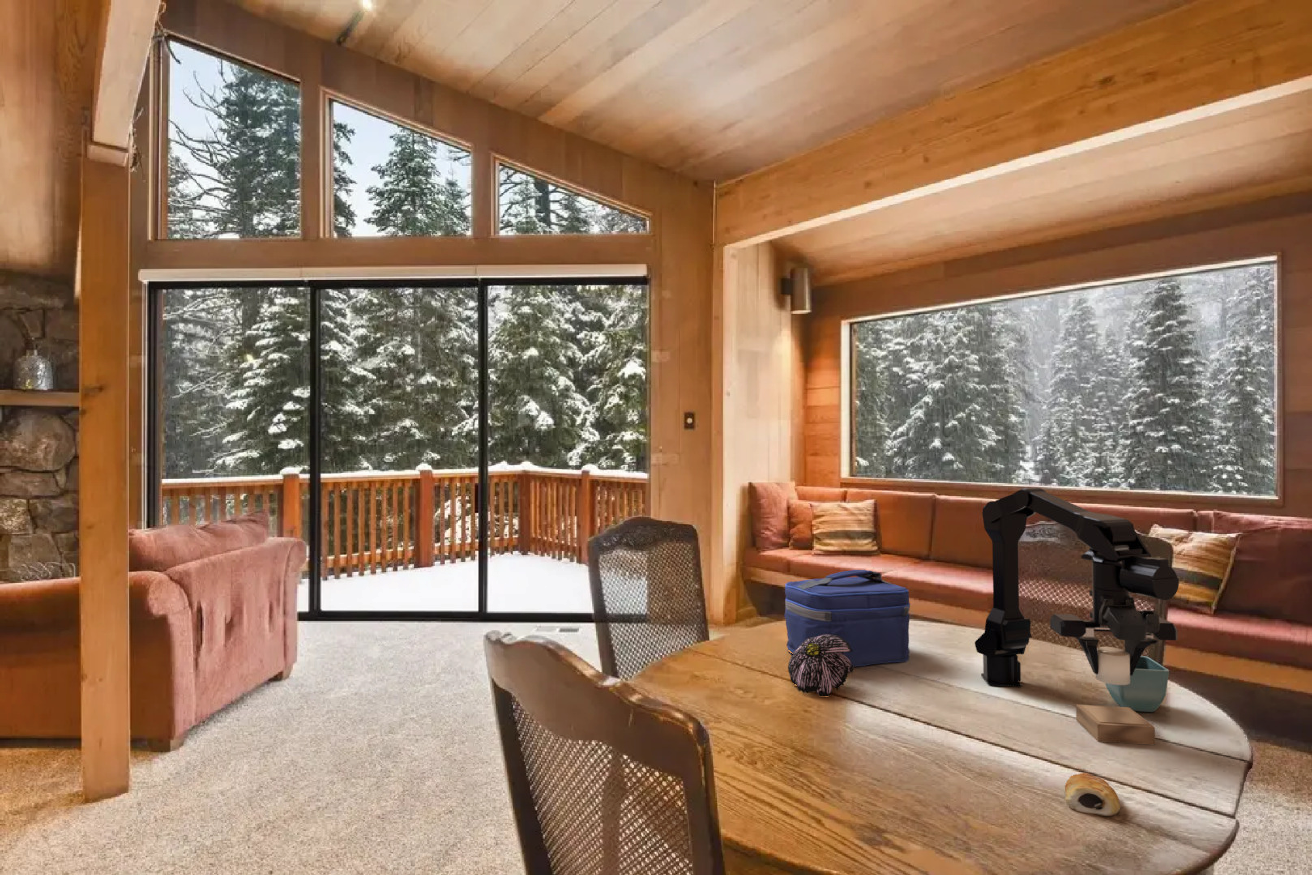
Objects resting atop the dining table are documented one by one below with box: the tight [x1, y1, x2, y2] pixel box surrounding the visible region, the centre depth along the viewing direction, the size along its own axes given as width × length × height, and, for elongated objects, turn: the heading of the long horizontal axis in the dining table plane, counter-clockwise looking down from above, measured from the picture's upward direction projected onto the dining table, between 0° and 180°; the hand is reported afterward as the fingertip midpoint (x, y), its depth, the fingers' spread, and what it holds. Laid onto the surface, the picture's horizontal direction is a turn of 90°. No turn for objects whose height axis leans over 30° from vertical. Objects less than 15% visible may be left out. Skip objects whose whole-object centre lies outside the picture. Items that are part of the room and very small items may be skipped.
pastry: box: [1064, 772, 1121, 817], centre depth 101 cm, size 9×7×4 cm
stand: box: [1075, 704, 1156, 745], centre depth 124 cm, size 9×9×3 cm
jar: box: [1095, 646, 1130, 685], centre depth 124 cm, size 5×5×5 cm
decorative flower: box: [787, 634, 854, 697], centre depth 149 cm, size 14×12×15 cm
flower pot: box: [1104, 655, 1170, 713], centre depth 135 cm, size 9×9×9 cm
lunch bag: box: [784, 569, 911, 668], centre depth 171 cm, size 31×21×20 cm
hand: (1112, 674), depth 124 cm, fingers closed on jar, 5 cm apart
